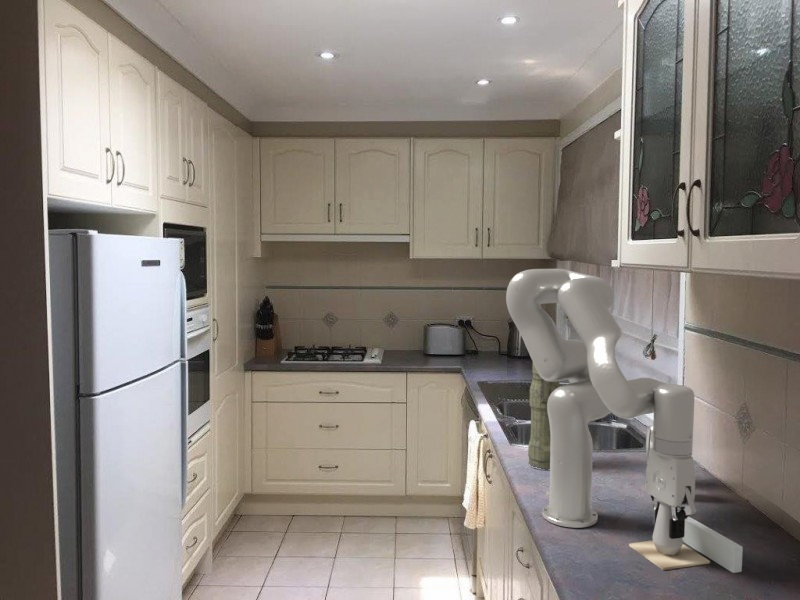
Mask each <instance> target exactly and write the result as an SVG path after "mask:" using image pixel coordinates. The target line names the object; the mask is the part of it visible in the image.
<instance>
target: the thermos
mask: <svg viewBox="0 0 800 600" xmlns="http://www.w3.org/2000/svg"><path fill="white" fill-rule="evenodd" d="M531 369H532V371H531V372H532V378H531V380H532V381H531V383H530V386H529V406H530V438H529V441H528V446H527V448H528V450H527V451H528V465H529V464H530V465H531V466H533V467H537V468H541V469H550V441H551V436H550V423H549V417H548V411H547V402H548V398H549V396H550V394H551V393H552V392H553V391H554V390H555V389H557V388H558V387H560V386H561V383H560V381H557V382H548V381H545V380H544V379H542V378H541V377H540V375H539V374H538V372H537V370H536V368H535V365H534V363H533V362H532V368H531Z"/></svg>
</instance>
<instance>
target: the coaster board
mask: <svg viewBox="0 0 800 600" xmlns="http://www.w3.org/2000/svg"><path fill="white" fill-rule="evenodd" d="M628 546H629V547H630V548H632V550H634V551H635V552H637V553H639V554H640V555H641V556H642V557H644V558H645V559H646V560H648V561H649V562H651V563H653V564H654V565H655V566H656V567H658V568H659V569H661V570H662V571H666V570H667V571H669V570H674V569H680V568H688V567H694V566H695V567H696V566H701V565H708V564H709V565H710V563H711V561H710V559H709V558H708V559H707V558H706V556H705V557H704V556H703V555H702V554H700V553H698V551H695V549H693V548H691V547H690V546H687V544H684V543H683V545H682V547H681V549H680V551H679V553H678V554H676V555H674V556H668V555H663V554H661V553H659V552H658V551H657V549H656V547H655V545H654V543H653V539H652V540H645V541H638V542H632V543H628Z"/></svg>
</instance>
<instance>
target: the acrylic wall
mask: <svg viewBox="0 0 800 600" xmlns="http://www.w3.org/2000/svg"><path fill="white" fill-rule="evenodd" d="M655 510H656V509H654V508H653V517H654V516H655ZM679 511H680V510H678V512H679ZM682 540H683V544H684V543H685V545H688V547H690V548H691V549H693V550H696V552H699V554H700V553H701V555H704V556H705V557H707V558H708V559H709V560H712V561H713V562H715V563H716V564H718V565H720V566H721V567H723V568H725V570H727V571H729V572H731V573H733V574H736V573H741V572H742V571H743V570H742V568H743V550H744V549H743V548H744V547H743V546H742V545H740V544H738V543H736V542H735V541H734V540H731V539H730V538H728V537H726V536H724V535H722V534H721V533H719V532H717V531H716V530H714V529H711V528H710V527H708V526H706V525H705V524H703V523H701V522H699V521H697V520H696V519H694V518H692V517H691V516H688V517H687V519H686V520H685V531H684V537H683V538H682Z"/></svg>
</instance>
